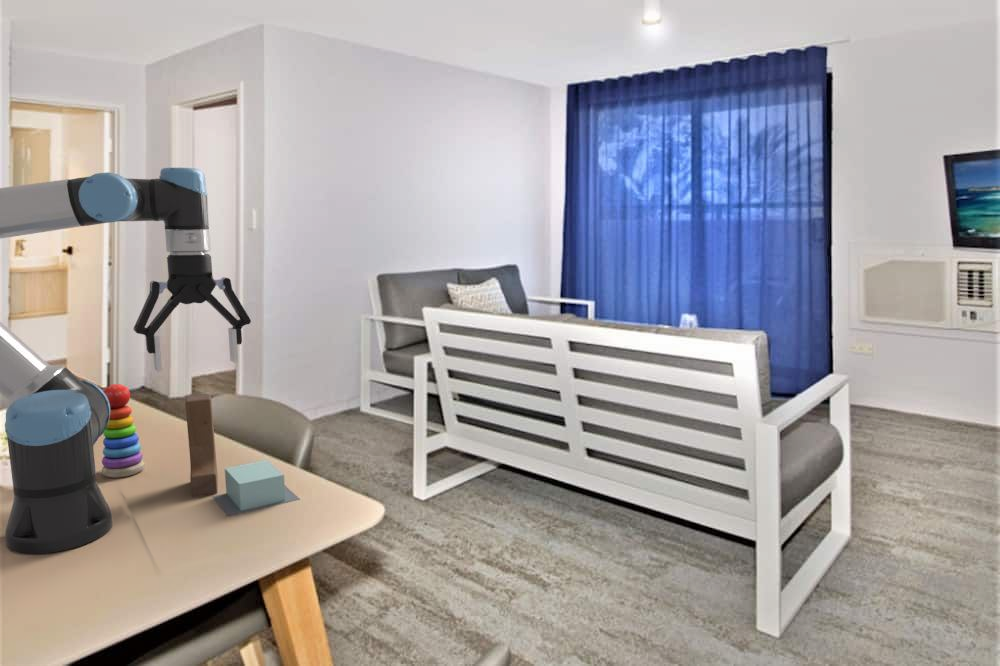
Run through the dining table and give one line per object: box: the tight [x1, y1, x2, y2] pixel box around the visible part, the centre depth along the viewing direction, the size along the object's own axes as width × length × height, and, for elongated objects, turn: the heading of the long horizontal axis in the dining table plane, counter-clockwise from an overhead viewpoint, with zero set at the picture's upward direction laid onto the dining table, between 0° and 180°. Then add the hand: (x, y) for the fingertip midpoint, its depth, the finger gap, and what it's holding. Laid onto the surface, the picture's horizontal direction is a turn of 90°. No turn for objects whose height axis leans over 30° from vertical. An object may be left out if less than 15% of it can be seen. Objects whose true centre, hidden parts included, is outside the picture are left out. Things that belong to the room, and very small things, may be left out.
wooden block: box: [185, 394, 219, 498], centre depth 137 cm, size 9×4×18 cm, turn 21°
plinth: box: [224, 459, 286, 511], centre depth 133 cm, size 8×10×5 cm
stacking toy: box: [101, 383, 146, 478], centre depth 146 cm, size 8×8×19 cm
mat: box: [212, 485, 301, 517], centre depth 133 cm, size 13×11×1 cm
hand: (197, 365), depth 134 cm, fingers open, 13 cm apart
